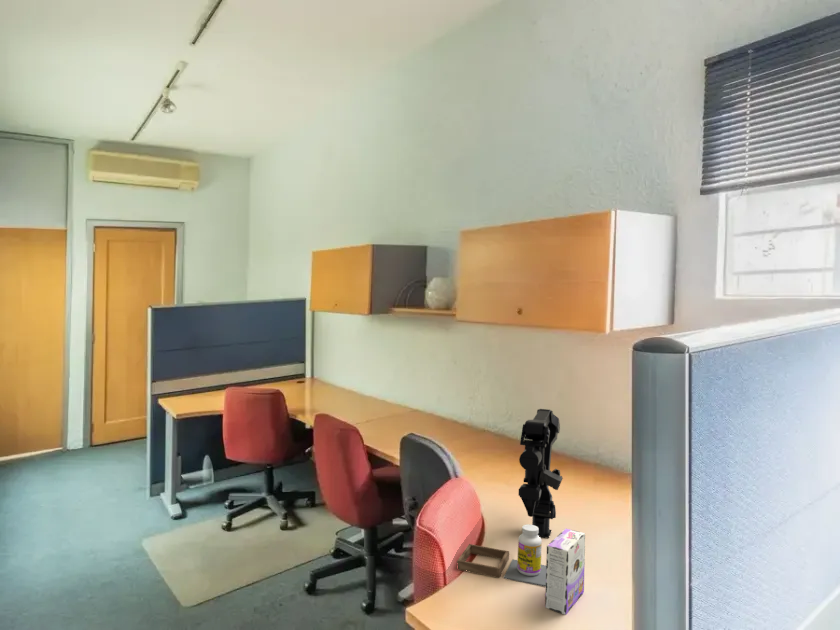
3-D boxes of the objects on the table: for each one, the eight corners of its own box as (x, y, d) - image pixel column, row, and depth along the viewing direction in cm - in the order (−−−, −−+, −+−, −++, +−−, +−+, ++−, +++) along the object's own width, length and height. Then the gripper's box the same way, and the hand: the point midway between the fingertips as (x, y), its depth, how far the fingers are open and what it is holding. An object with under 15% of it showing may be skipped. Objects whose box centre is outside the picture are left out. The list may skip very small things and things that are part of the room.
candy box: (563, 586, 154) (565, 527, 154) (584, 593, 151) (586, 532, 150) (544, 607, 143) (545, 544, 142) (566, 615, 139) (568, 550, 139)
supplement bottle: (512, 571, 161) (513, 526, 161) (525, 563, 166) (526, 521, 166) (532, 579, 157) (533, 534, 156) (545, 571, 161) (546, 527, 161)
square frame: (469, 551, 174) (469, 543, 174) (508, 559, 170) (509, 551, 170) (456, 569, 163) (456, 560, 163) (499, 577, 158) (499, 569, 158)
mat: (512, 560, 169) (512, 559, 169) (552, 568, 165) (552, 566, 165) (503, 578, 158) (503, 576, 158) (546, 587, 153) (546, 585, 153)
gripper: (556, 473, 163) (555, 526, 163) (564, 457, 180) (563, 505, 180) (518, 468, 167) (517, 520, 167) (530, 453, 184) (529, 500, 184)
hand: (533, 511), depth 175 cm, fingers open, 9 cm apart
